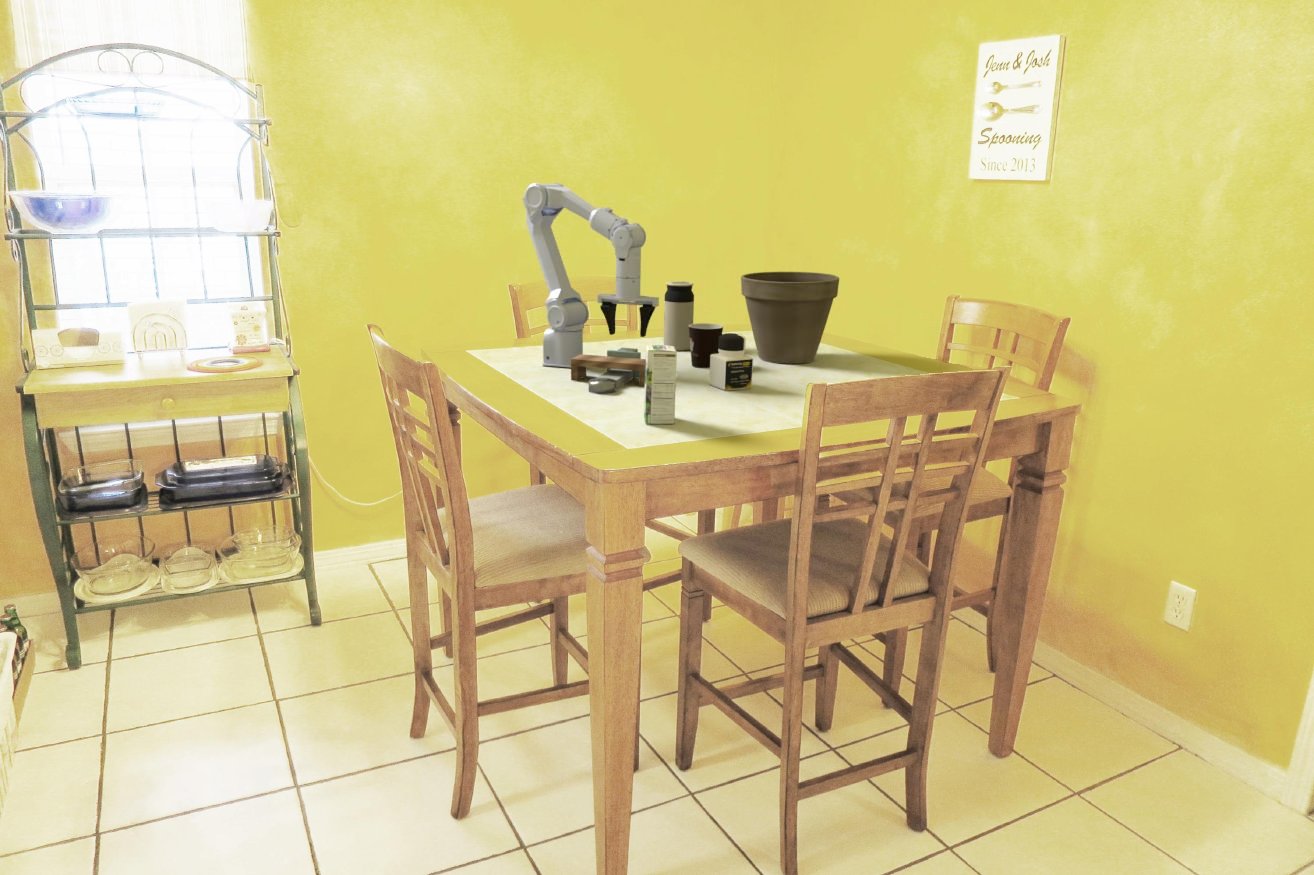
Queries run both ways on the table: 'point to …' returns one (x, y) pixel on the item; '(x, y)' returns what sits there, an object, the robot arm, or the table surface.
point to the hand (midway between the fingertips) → (627, 335)
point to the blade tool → (620, 374)
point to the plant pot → (788, 312)
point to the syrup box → (660, 384)
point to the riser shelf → (606, 365)
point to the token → (602, 386)
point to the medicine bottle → (731, 364)
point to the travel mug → (678, 314)
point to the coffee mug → (704, 343)
